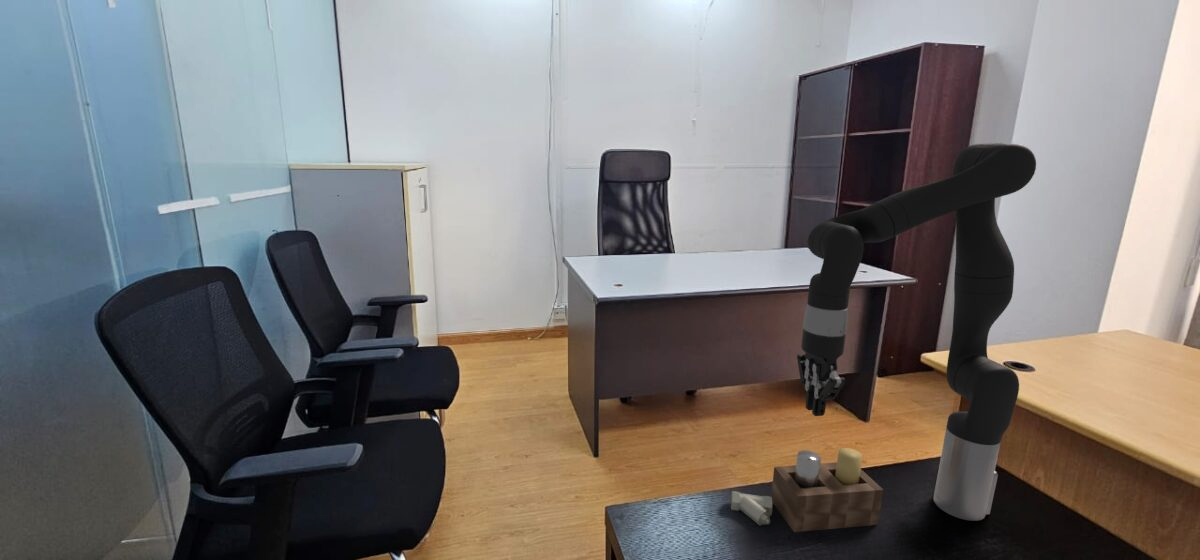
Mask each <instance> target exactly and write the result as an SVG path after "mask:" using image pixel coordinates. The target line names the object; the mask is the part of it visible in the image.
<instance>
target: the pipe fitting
mask: <svg viewBox="0 0 1200 560" xmlns="http://www.w3.org/2000/svg"><path fill="white" fill-rule="evenodd" d="M730 509H731V511H736V512H737V511H741V512H742V513H744V515H746V516H747V517H748V518H749V519H751V520H752V521H753V522H755V523H756V524H757V525H759V526H763V525H770V523H771V519H770V518H771V517H770V516H772V514H773V502H772V497H771V495H770V496H768V495H762V496H761V495H755V494H750V493H749V494H748V493H743V492H740V491H735V490H731V498H730Z"/></svg>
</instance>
